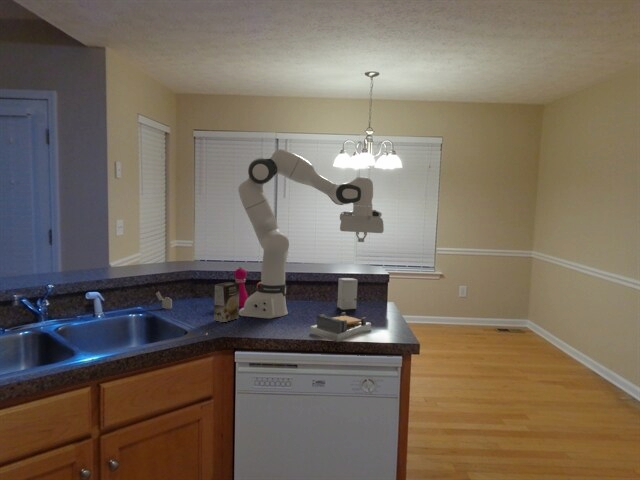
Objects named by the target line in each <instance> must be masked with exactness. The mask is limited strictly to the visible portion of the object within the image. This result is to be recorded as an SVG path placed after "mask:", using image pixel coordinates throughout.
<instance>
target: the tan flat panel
mask: <svg viewBox="0 0 640 480" xmlns="http://www.w3.org/2000/svg"><path fill="white" fill-rule="evenodd" d="M332 318H335V319H339V320H347V325H348V324H353V323H359V322H361V319H362V318H357V317H354V316H348V315H347V314H346V315H345V316H341V315H340V316H334V317H332Z"/></svg>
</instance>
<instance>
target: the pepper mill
mask: <svg viewBox="0 0 640 480" xmlns="http://www.w3.org/2000/svg"><path fill="white" fill-rule="evenodd" d="M247 275H248V274H247V271H246V269H243V266H242V265H239V266H238V268H237V269H236V270H235V271H234V277H235V282H234V283H239V308H244V304H245V301H246V299H247V298H248V297H249V296H248V292H247V290H246V286H245V283H246V280H247V279H246V277H247Z"/></svg>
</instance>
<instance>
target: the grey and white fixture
mask: <svg viewBox="0 0 640 480" xmlns="http://www.w3.org/2000/svg"><path fill="white" fill-rule="evenodd" d="M345 315H346V316H347V313H346V312H345V311H343V312H341V313H340V316H345ZM360 319H361V322H359V323H353V324H348V325H347V320H339V319H335V318H333V317H331V316H326V314H324V313H322V314H318V315H316V324H313V325H311V326H310V332H309V333H311V334H310V335H313V334H314V335H313V336H316V335H317V336H316V337H319V336H320V338H323V337H324V338H323V339H326V338H327V339H326V340H330V341H332V342H336V343H339V342H342V341H344V339H345V340H347V339H350V338H352V337H355V336H358V335H361V334H363V333H364V334H365V333H367V332H369V331H371V330H372V323H371V322H367V317H361V318H360Z"/></svg>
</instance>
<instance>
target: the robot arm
mask: <svg viewBox="0 0 640 480" xmlns="http://www.w3.org/2000/svg"><path fill="white" fill-rule="evenodd" d="M247 171H248V178H247V179H246V180H244V181H243V182H241V184H240V185H239V186H238V188H237V189H238V194H239V198H240V200H241V205H242V206H243V208H244V210H245V212H246V214H247V217H248V218H249V221H250V223H251V225H252V228H253V230H254V233H255V236H256V239H257V240H258V242H259V244H260V247H261V248H262V249H263V255H262V263H261V266H260V267H261V270H260V272H261V274H260V275H261V277H260V280H261V281H259V282H258V283H257V284H256V291H255V292H253V293H252V294H251V295H249V296H248V298H247V299H246V301H245V304H244V307H241V308H239V316H241V317H250V318H252V317H253V318H261V319H273V318H279V317H284V316H286V315H288V313H289V312H288V307H287V303H286V295H287V283H286V265H287V258H288V251H289V247H290V241H289V239H288V236H287V235H286V234H285V233H284V232H282V231H281V230H280V228H279V225H278V222H277V220H276V216H275V213H274V211H273V208H272V206H271V204H270V202H269V200H268V198H267V196H266V193H265V191H264V184H267V183H269V182H270V181H271V180H272V179H273V178H274V177H275V176H276V175H281V176H283V177H285V178H287V179H289V180H291V181H293V182H296V183H299V184H302V185H306V186H309V187H311V188H315V190H316V189H317V190H318V191H320V192H321V193H324V194H325V195H326V196H328V198H330V200H331V201H332V202H333V203H334V204H335V205H338V206H344V205H350V204H352V205H353V207H352V211H343V212H340V214H339V221H340V226H339V230H340V232H350V233H355V236H356V237H357V242H358V243H365V239H366V237H367V236H368V234H369V233H370V234H371V233H372V234H373V233H374V234H382V233H384V230H385V229H384V220H383V218H382V214H383V213H382V212H380V211H378V210H376V209H373V198H374V184H373V181H372V180H371V179H370V178H368V177H366V176H357V177H355V178H354V179H352V180H349V181H347V182H343V183H335V182H332V181H331V180H328V178H325V177H323V176H322V175H320V174H319V173H318V172H317V171H316V170H315V167H314V165H313V164H312V163H310V161H308V160H307V159H305V158H303V157H302V156H300V155H298V154H297V153H294V152H291V151H288V150H285V149H277V150H275V151H274V152H273V154H271V157H270V158H261V157H260V158H255V159H254V160H252V161H251V162H250V163H249V165H248V170H247ZM360 233H363V237H360V236H359V235H360Z"/></svg>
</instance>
